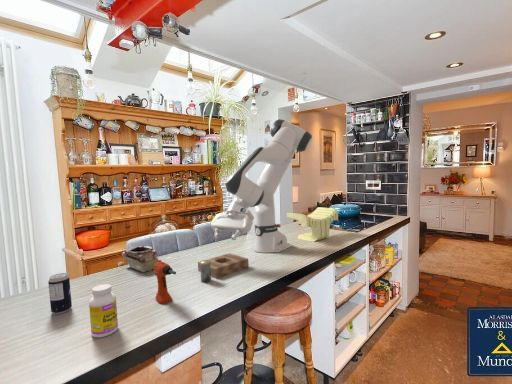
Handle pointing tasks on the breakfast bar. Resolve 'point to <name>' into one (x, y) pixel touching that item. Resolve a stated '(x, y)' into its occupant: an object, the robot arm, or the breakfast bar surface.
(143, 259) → the decorative box
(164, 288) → the toy drill
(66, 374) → the breakfast bar surface
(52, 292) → the beverage can
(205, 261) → the key peg
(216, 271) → the chuck block
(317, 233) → the slatted curved stool
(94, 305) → the supplement bottle
